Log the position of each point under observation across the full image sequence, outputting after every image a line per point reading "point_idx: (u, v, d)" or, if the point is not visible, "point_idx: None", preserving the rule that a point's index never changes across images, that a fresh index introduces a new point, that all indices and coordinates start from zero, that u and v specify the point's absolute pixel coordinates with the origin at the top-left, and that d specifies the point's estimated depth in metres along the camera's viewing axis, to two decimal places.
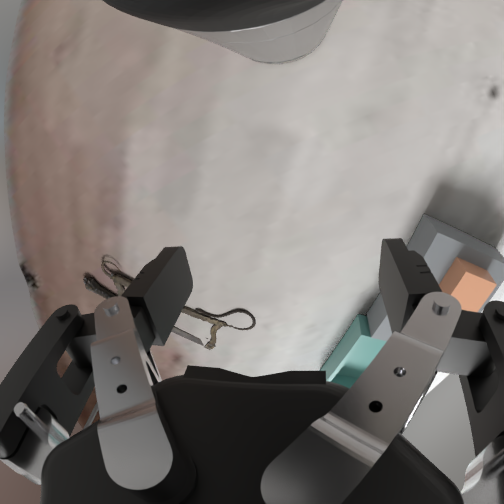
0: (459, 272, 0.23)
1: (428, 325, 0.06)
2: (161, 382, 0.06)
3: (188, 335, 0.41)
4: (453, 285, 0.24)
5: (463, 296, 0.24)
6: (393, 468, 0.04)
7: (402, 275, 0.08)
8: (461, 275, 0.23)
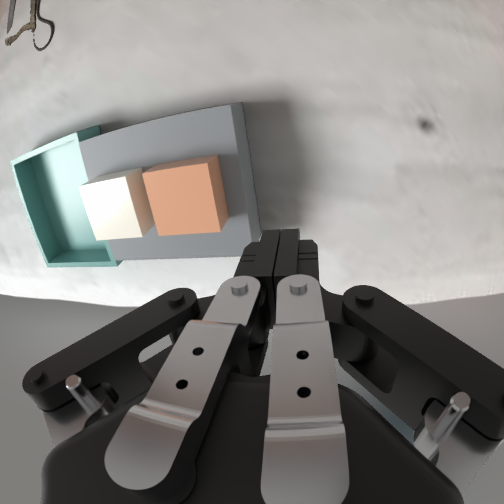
0: (201, 161, 0.20)
1: (297, 307, 0.08)
2: (232, 393, 0.06)
3: (11, 18, 0.18)
4: (181, 165, 0.20)
5: (178, 190, 0.20)
6: (393, 468, 0.04)
7: (277, 260, 0.10)
8: (199, 163, 0.19)
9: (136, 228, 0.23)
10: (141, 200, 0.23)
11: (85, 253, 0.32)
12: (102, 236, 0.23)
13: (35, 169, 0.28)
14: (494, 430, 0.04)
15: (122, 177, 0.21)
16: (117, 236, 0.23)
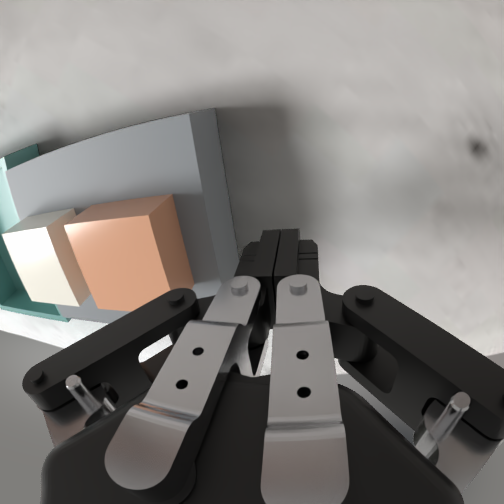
0: (143, 209, 0.12)
1: (297, 307, 0.08)
2: (232, 393, 0.06)
3: None
4: (114, 215, 0.12)
5: (112, 253, 0.13)
6: (393, 468, 0.04)
7: (277, 260, 0.10)
8: (137, 213, 0.12)
9: (70, 295, 0.15)
10: None
11: None
12: (36, 297, 0.16)
13: None
14: (494, 430, 0.04)
15: (43, 228, 0.13)
16: (52, 300, 0.16)
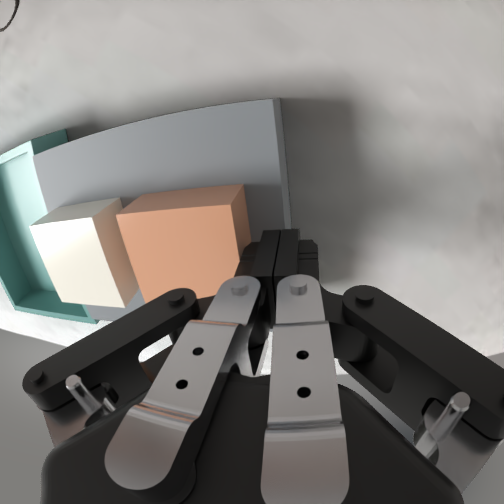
0: (218, 198, 0.12)
1: (297, 307, 0.08)
2: (232, 393, 0.06)
3: None
4: (183, 204, 0.11)
5: (176, 247, 0.12)
6: (393, 468, 0.04)
7: (277, 260, 0.10)
8: (214, 203, 0.11)
9: (114, 295, 0.14)
10: (121, 251, 0.14)
11: (58, 297, 0.23)
12: (68, 297, 0.15)
13: None
14: (494, 430, 0.04)
15: (87, 218, 0.12)
16: (89, 301, 0.15)
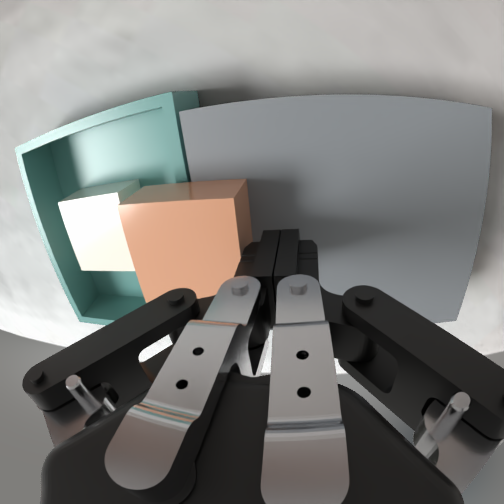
0: (221, 192, 0.11)
1: (297, 307, 0.08)
2: (232, 393, 0.06)
3: None
4: (185, 197, 0.11)
5: (177, 240, 0.12)
6: (393, 468, 0.04)
7: (277, 260, 0.10)
8: (217, 196, 0.11)
9: None
10: None
11: None
12: None
13: (57, 163, 0.17)
14: (494, 430, 0.04)
15: (83, 189, 0.18)
16: None
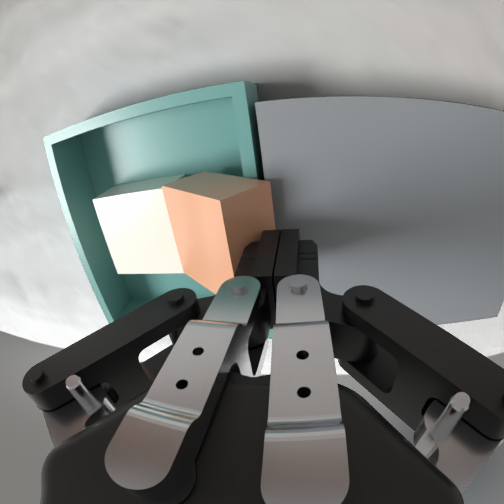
0: (225, 191, 0.12)
1: (297, 307, 0.08)
2: (232, 393, 0.06)
3: None
4: (200, 190, 0.12)
5: (193, 227, 0.13)
6: (393, 468, 0.04)
7: (277, 260, 0.10)
8: (215, 195, 0.11)
9: None
10: None
11: None
12: None
13: (89, 157, 0.17)
14: (494, 430, 0.04)
15: (118, 185, 0.17)
16: None
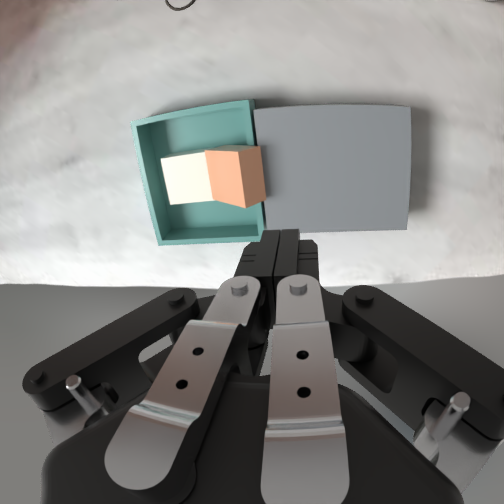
0: (239, 149, 0.25)
1: (297, 307, 0.08)
2: (232, 393, 0.06)
3: None
4: (227, 150, 0.25)
5: (222, 168, 0.26)
6: (393, 468, 0.04)
7: (277, 260, 0.10)
8: (235, 150, 0.25)
9: None
10: None
11: (212, 230, 0.34)
12: None
13: (154, 136, 0.30)
14: (494, 430, 0.04)
15: (172, 153, 0.31)
16: None
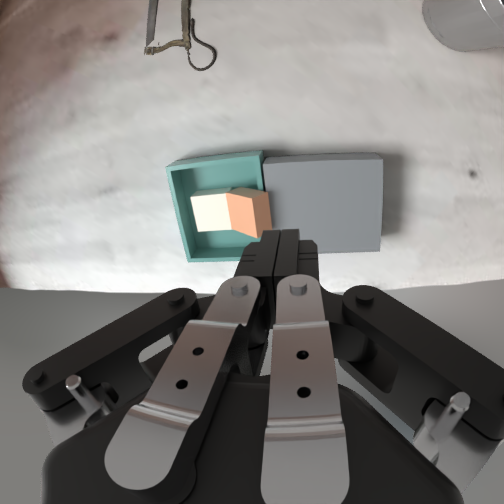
0: (253, 195, 0.35)
1: (297, 307, 0.08)
2: (232, 393, 0.06)
3: (152, 28, 0.30)
4: (243, 194, 0.35)
5: (239, 208, 0.36)
6: (393, 468, 0.04)
7: (277, 260, 0.10)
8: (249, 196, 0.34)
9: None
10: None
11: (230, 250, 0.43)
12: None
13: (183, 176, 0.40)
14: (494, 430, 0.04)
15: (198, 191, 0.41)
16: None
